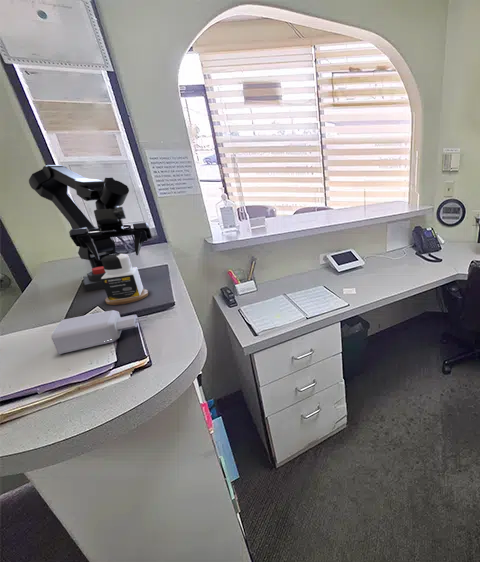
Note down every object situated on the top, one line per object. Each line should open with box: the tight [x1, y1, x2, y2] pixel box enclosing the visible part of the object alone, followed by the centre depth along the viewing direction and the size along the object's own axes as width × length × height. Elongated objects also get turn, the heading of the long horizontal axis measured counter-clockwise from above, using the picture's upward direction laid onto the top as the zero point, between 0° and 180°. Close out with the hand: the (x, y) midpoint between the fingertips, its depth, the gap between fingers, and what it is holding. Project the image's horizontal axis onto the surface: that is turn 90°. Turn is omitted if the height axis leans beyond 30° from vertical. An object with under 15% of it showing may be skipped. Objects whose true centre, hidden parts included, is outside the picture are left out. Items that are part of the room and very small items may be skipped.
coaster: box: [104, 288, 150, 306], centre depth 90 cm, size 10×10×1 cm
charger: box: [51, 309, 148, 355], centre depth 69 cm, size 5×9×15 cm
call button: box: [91, 266, 105, 274], centre depth 99 cm, size 4×4×2 cm
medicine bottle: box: [101, 253, 144, 301], centre depth 88 cm, size 7×7×12 cm
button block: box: [82, 271, 106, 292], centre depth 100 cm, size 10×9×4 cm
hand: (118, 257), depth 92 cm, fingers open, 9 cm apart
